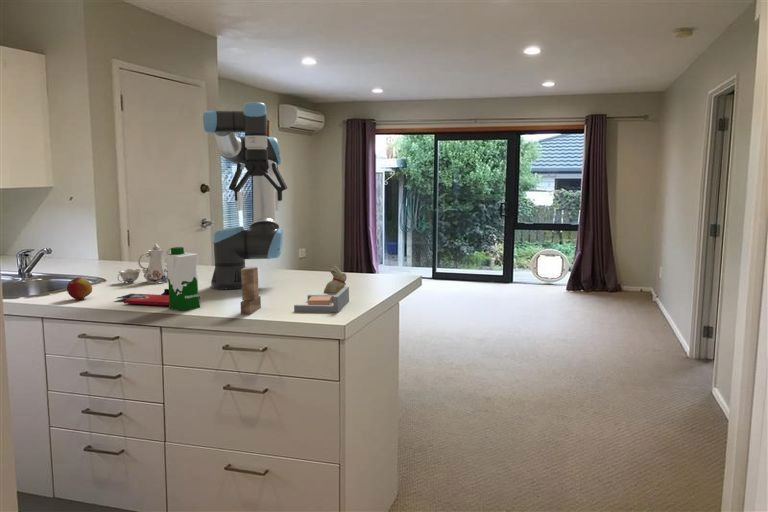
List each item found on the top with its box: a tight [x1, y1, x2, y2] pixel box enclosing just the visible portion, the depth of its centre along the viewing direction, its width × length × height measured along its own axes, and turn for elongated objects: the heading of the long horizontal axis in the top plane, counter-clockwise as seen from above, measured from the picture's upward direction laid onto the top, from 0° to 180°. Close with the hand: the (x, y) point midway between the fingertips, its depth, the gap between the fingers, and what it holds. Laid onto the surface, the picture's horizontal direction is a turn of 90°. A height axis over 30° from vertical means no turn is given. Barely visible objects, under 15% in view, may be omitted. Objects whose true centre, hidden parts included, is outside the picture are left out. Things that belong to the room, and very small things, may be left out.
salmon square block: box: [307, 296, 333, 305], centre depth 201 cm, size 7×7×3 cm
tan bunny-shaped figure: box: [323, 265, 348, 294], centre depth 226 cm, size 6×8×10 cm
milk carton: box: [164, 246, 201, 312], centre depth 199 cm, size 9×9×20 cm
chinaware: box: [116, 242, 171, 284], centre depth 254 cm, size 28×17×17 cm, turn 143°
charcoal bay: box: [293, 286, 350, 313], centre depth 200 cm, size 14×18×5 cm
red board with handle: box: [116, 288, 201, 306], centre depth 212 cm, size 30×3×15 cm
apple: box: [66, 276, 93, 301], centre depth 217 cm, size 8×8×8 cm
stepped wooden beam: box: [240, 266, 262, 316], centre depth 194 cm, size 4×10×14 cm, turn 172°
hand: (259, 210), depth 212 cm, fingers open, 13 cm apart
